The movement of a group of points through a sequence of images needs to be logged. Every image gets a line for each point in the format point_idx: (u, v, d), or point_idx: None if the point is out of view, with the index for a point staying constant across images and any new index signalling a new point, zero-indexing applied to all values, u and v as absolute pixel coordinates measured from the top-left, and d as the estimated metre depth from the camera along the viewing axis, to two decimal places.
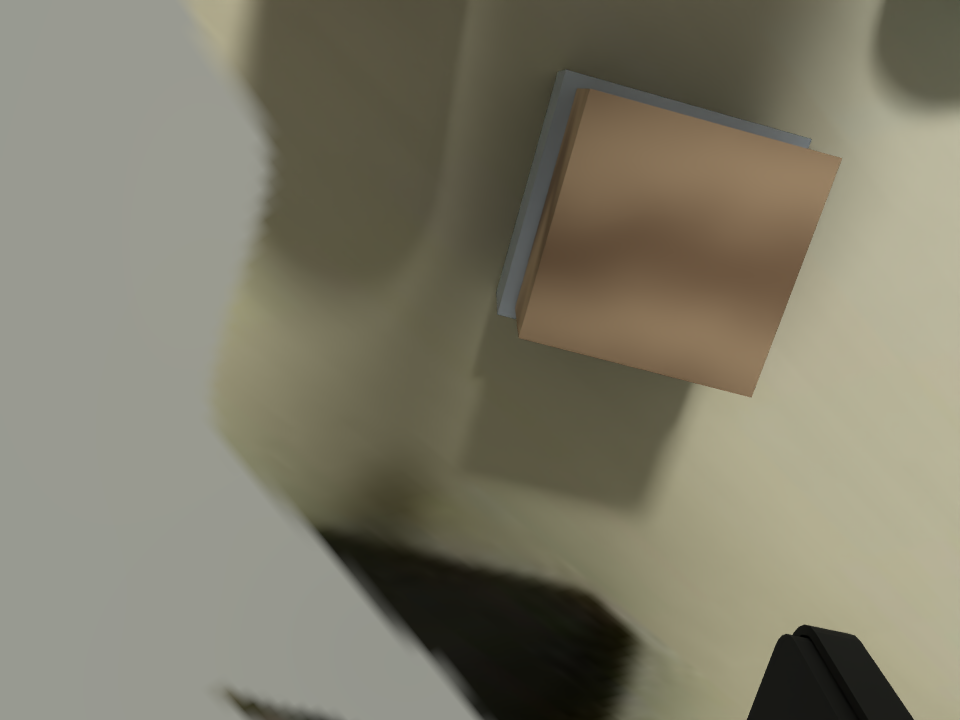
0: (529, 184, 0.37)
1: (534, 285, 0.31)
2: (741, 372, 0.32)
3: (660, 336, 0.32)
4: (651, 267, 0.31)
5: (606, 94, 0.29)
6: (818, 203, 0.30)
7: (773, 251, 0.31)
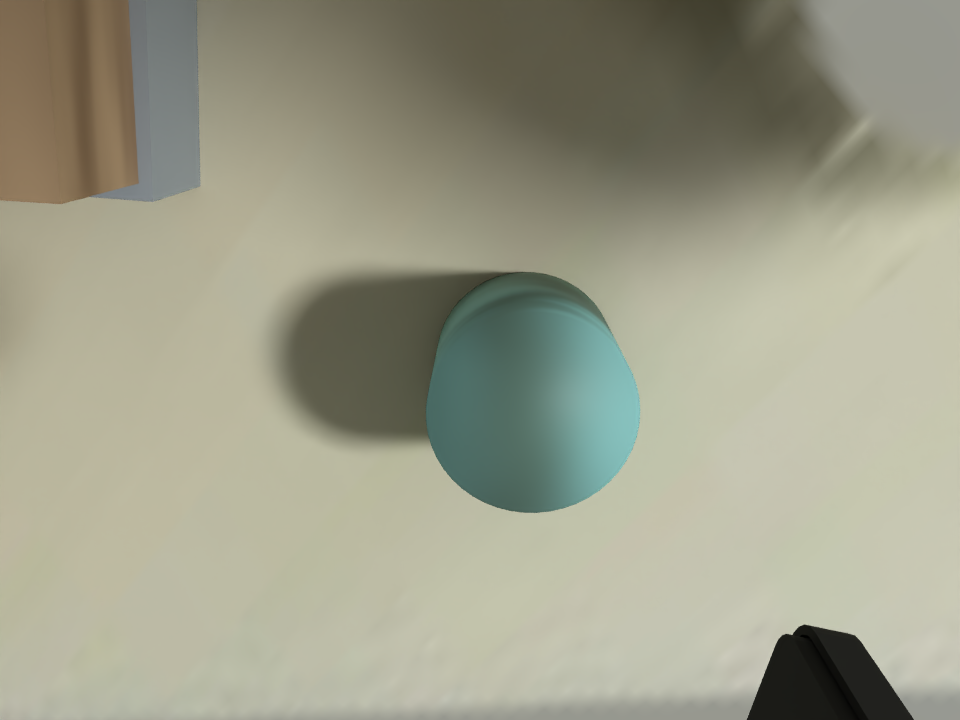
0: None
1: None
2: None
3: None
4: None
5: None
6: None
7: None
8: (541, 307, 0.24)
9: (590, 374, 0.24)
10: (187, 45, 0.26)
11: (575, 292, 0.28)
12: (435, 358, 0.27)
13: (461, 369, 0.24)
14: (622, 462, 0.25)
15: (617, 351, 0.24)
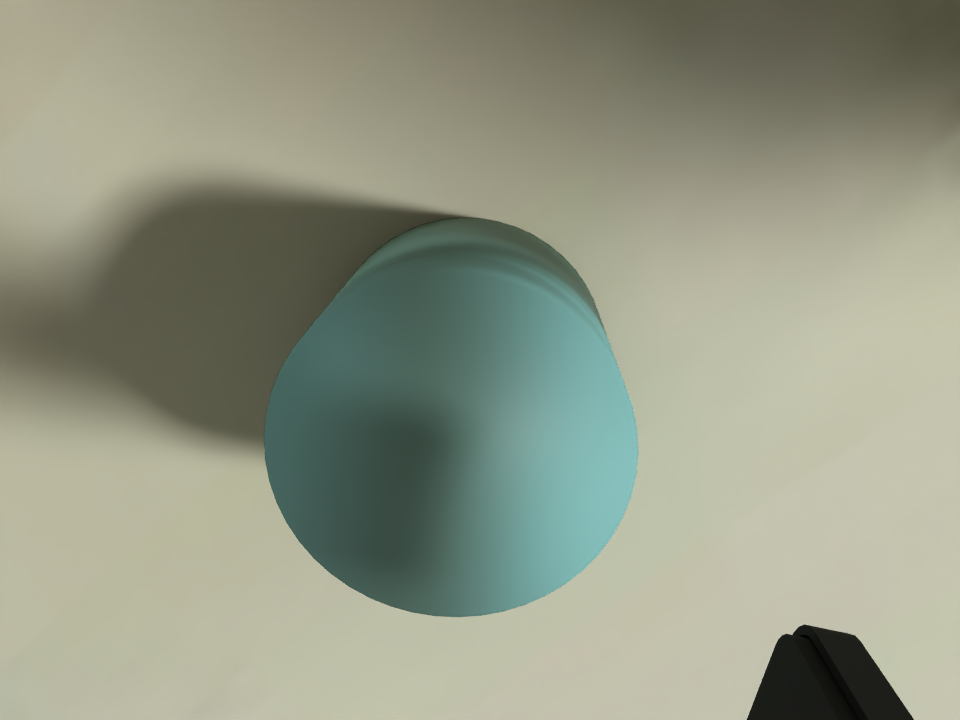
0: None
1: None
2: None
3: None
4: None
5: None
6: None
7: None
8: (491, 269, 0.13)
9: (559, 399, 0.14)
10: None
11: (558, 260, 0.17)
12: None
13: (335, 356, 0.13)
14: (592, 555, 0.14)
15: (613, 366, 0.13)
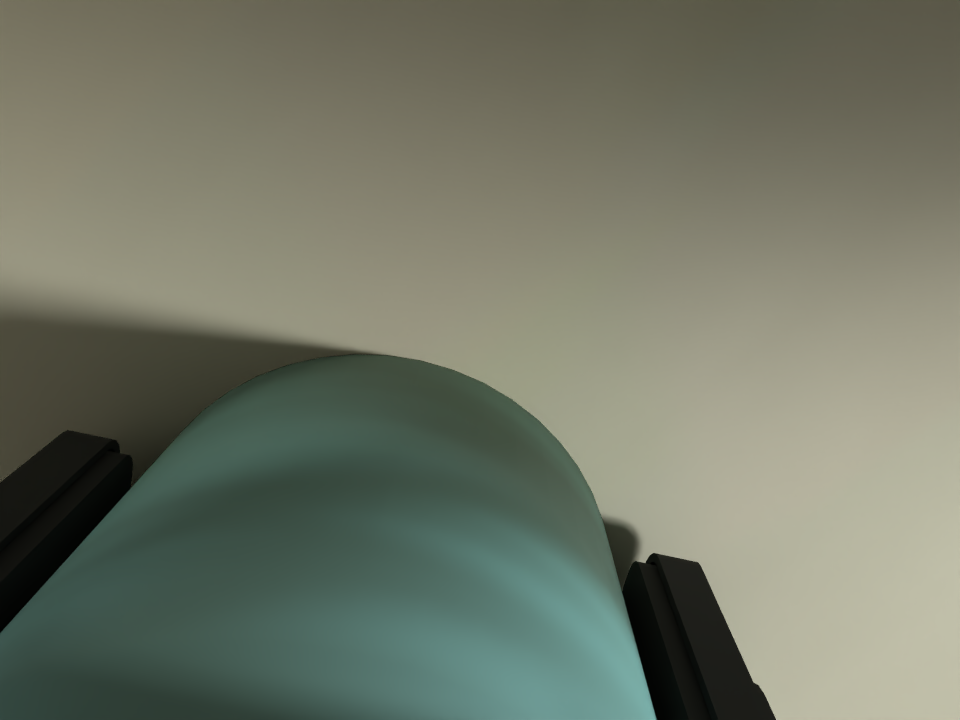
0: None
1: None
2: None
3: None
4: None
5: None
6: None
7: None
8: (360, 596, 0.05)
9: None
10: None
11: (529, 449, 0.09)
12: None
13: None
14: None
15: None
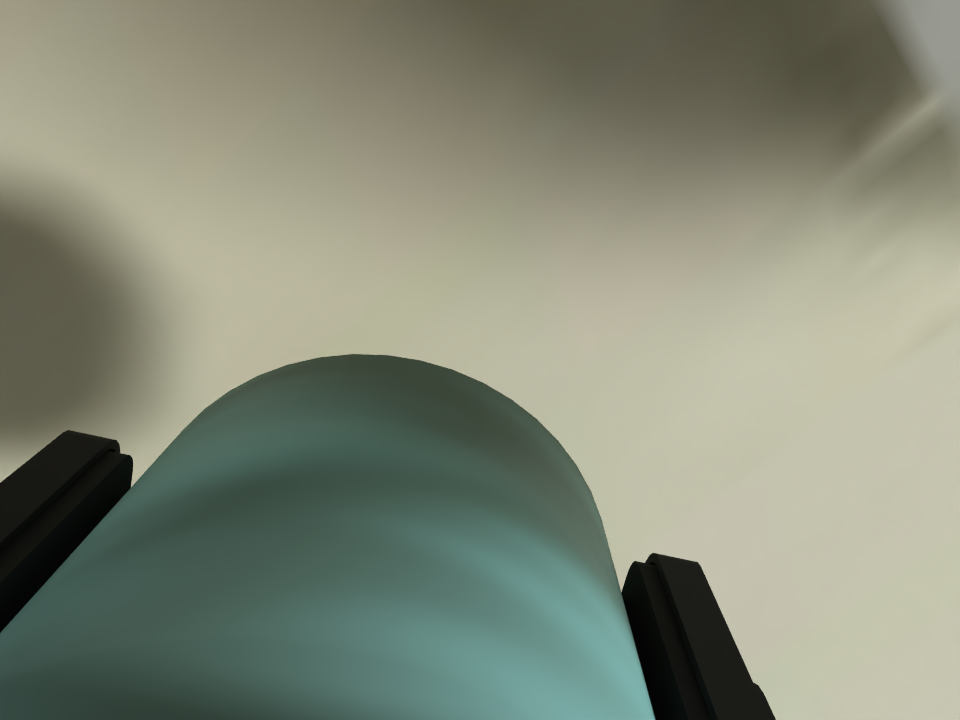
0: None
1: None
2: None
3: None
4: None
5: None
6: None
7: None
8: (359, 595, 0.05)
9: None
10: None
11: (528, 448, 0.09)
12: None
13: None
14: None
15: None
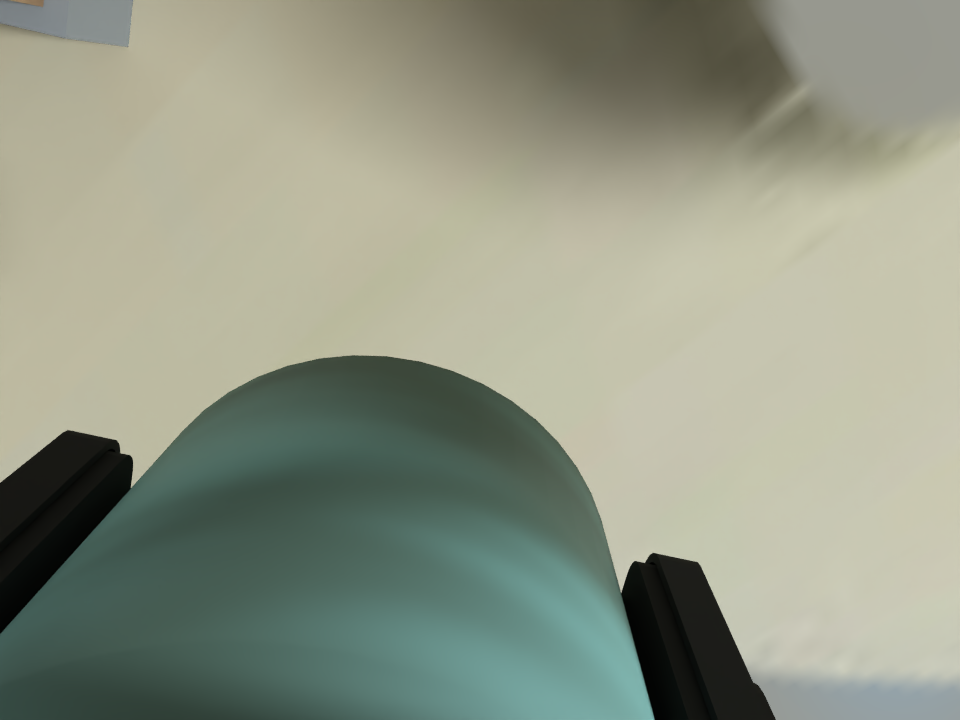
0: None
1: None
2: None
3: None
4: None
5: None
6: None
7: None
8: (358, 598, 0.05)
9: None
10: None
11: (528, 450, 0.09)
12: None
13: None
14: None
15: None
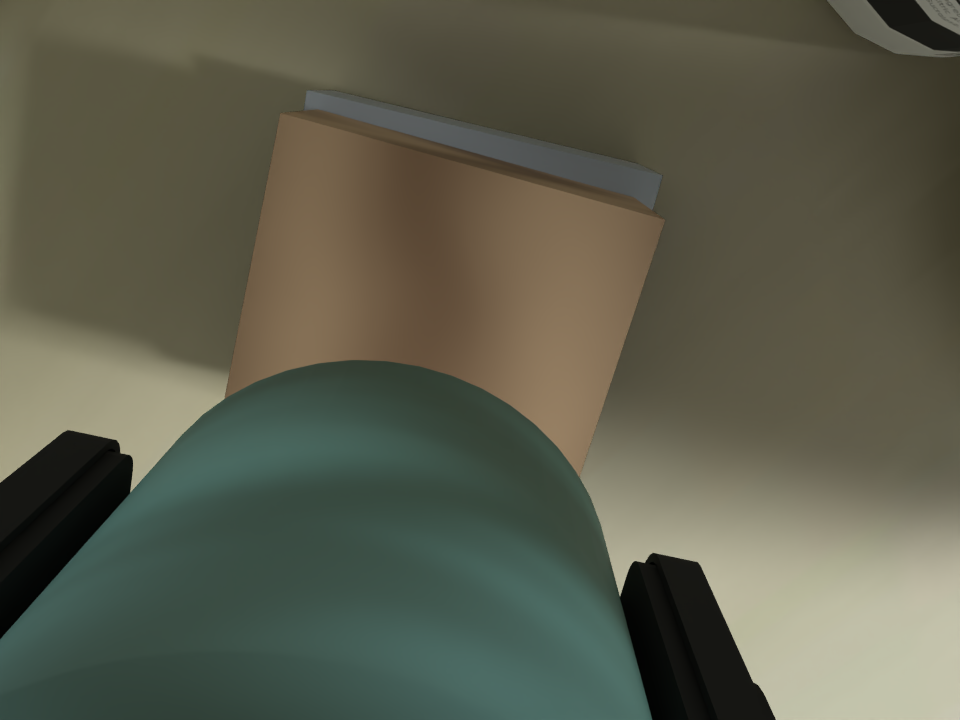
0: (495, 132, 0.26)
1: (369, 138, 0.19)
2: None
3: (295, 337, 0.21)
4: (401, 319, 0.21)
5: (655, 244, 0.20)
6: None
7: None
8: (356, 606, 0.05)
9: None
10: None
11: (527, 455, 0.09)
12: None
13: None
14: None
15: None
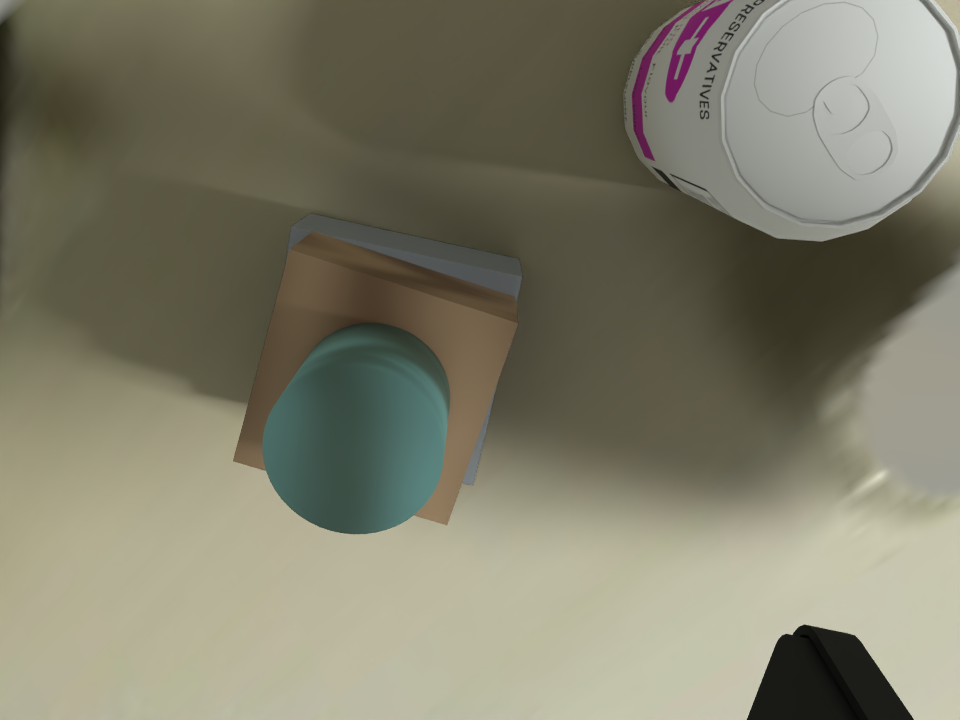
0: (418, 244, 0.39)
1: (342, 266, 0.32)
2: (257, 451, 0.35)
3: None
4: None
5: (512, 337, 0.33)
6: None
7: None
8: (366, 362, 0.28)
9: (402, 422, 0.28)
10: None
11: (414, 346, 0.32)
12: None
13: (294, 408, 0.28)
14: (427, 498, 0.29)
15: (426, 405, 0.28)
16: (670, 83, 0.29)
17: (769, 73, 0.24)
